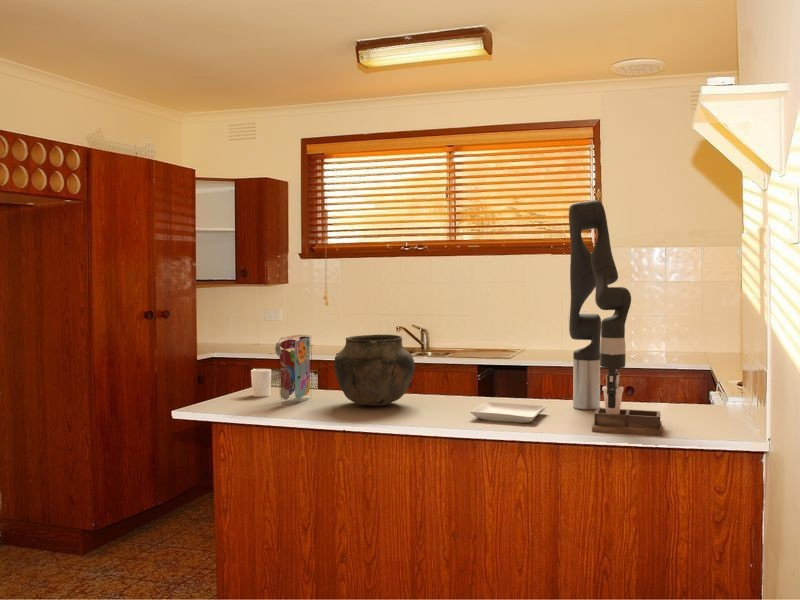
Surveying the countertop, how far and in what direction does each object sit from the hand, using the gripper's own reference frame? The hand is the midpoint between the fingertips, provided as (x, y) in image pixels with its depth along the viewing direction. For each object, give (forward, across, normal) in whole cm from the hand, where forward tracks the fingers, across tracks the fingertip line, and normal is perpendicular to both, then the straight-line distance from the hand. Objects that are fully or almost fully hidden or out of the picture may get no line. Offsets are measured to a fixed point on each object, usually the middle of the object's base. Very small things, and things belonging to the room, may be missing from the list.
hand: (612, 405), depth 232 cm
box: (+7, -8, -114) cm, 115 cm away
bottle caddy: (+7, 0, +4) cm, 8 cm away
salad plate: (+7, -7, -34) cm, 35 cm away
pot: (+7, -13, -84) cm, 85 cm away
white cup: (+7, -20, -134) cm, 135 cm away
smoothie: (+4, 0, 0) cm, 4 cm away
